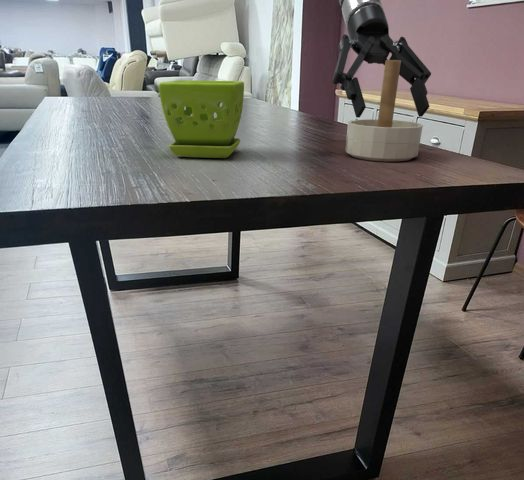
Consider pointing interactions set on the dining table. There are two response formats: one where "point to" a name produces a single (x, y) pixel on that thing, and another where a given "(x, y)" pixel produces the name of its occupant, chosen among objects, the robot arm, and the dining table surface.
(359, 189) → the dining table surface
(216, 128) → the flower pot
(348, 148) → the bowl
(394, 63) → the muddler
